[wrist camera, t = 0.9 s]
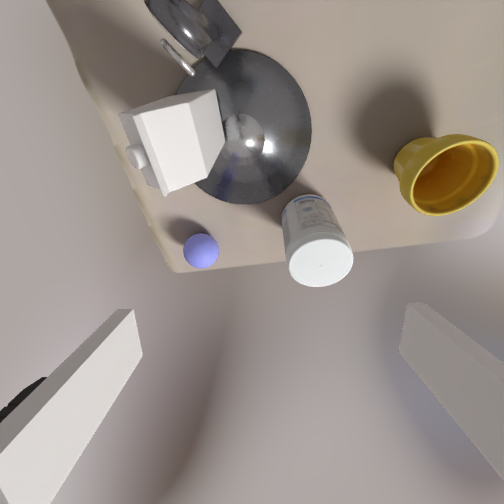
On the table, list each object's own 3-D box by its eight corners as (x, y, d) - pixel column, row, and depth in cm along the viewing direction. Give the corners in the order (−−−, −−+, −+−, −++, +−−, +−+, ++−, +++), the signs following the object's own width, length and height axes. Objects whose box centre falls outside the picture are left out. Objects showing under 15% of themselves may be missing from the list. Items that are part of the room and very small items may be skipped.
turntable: (145, 140, 39) (144, 141, 39) (235, 0, 29) (235, -1, 28) (244, 224, 48) (243, 225, 48) (339, 140, 38) (340, 140, 37)
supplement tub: (307, 243, 50) (320, 297, 39) (271, 220, 47) (273, 271, 36) (342, 209, 45) (369, 260, 34) (304, 181, 42) (319, 226, 31)
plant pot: (462, 117, 35) (518, 133, 28) (440, 184, 42) (479, 212, 34) (387, 128, 37) (420, 146, 29) (376, 192, 43) (401, 220, 35)
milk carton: (215, 88, 34) (175, 109, 19) (225, 141, 38) (199, 193, 23) (167, 96, 35) (93, 122, 20) (182, 147, 39) (131, 200, 24)
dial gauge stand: (183, 38, 31) (120, 20, 17) (211, -8, 28) (161, -73, 15) (214, 73, 33) (179, 81, 19) (242, 32, 30) (224, 9, 17)
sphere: (187, 250, 53) (178, 272, 47) (188, 223, 48) (179, 244, 43) (219, 256, 53) (213, 278, 48) (223, 230, 49) (218, 251, 44)
